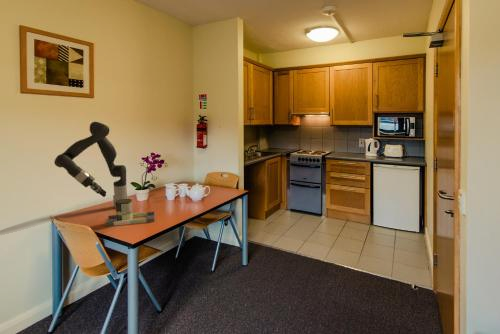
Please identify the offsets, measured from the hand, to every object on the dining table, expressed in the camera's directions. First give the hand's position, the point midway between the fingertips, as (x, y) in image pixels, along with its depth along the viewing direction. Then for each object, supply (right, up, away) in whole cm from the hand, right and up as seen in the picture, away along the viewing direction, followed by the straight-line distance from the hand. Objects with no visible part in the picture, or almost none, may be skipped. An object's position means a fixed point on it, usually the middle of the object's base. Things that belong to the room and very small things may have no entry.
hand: (105, 194), depth 195 cm
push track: (+14, -18, +7) cm, 24 cm away
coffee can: (+10, -19, +6) cm, 22 cm away
